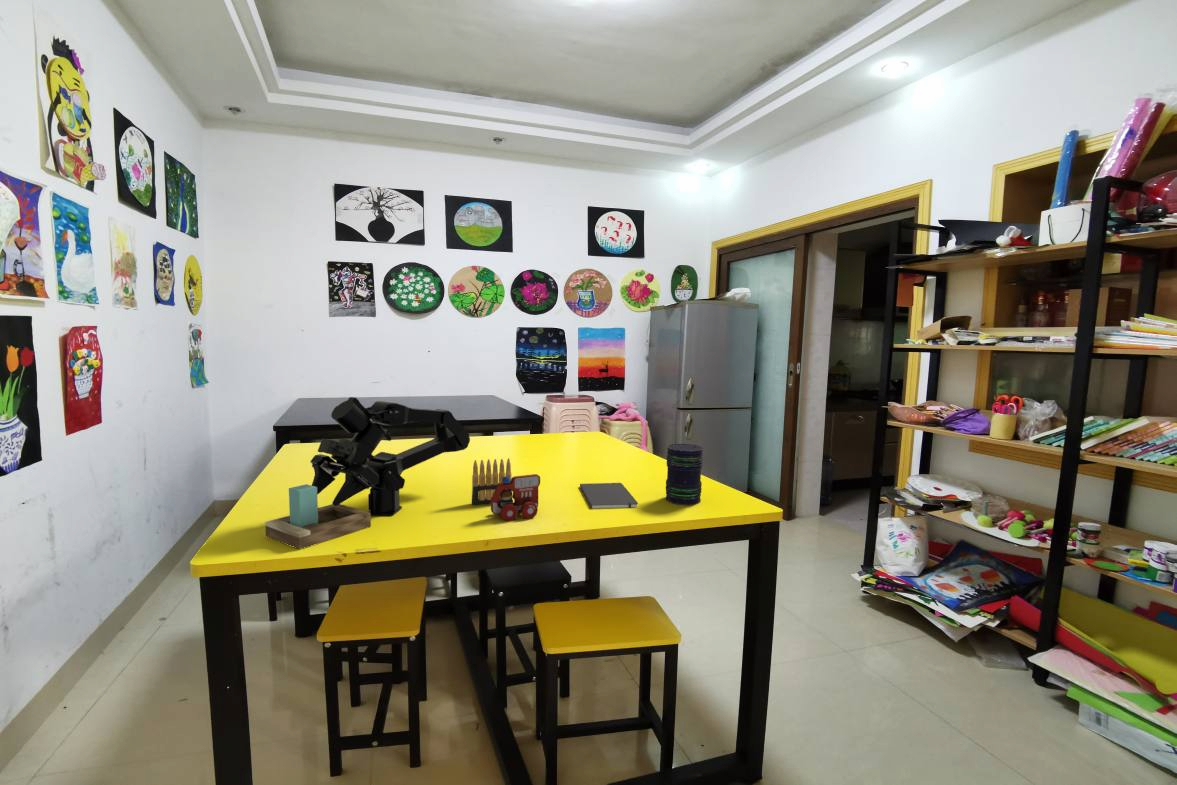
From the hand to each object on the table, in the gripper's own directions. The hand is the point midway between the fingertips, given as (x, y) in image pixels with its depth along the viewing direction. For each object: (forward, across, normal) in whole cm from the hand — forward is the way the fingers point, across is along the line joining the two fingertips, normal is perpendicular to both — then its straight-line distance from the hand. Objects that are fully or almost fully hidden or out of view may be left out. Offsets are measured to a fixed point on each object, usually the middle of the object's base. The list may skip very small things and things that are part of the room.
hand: (321, 501), depth 125 cm
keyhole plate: (+5, 0, +4) cm, 7 cm away
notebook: (-37, +39, +49) cm, 73 cm away
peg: (+8, 0, +2) cm, 8 cm away
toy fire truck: (-18, +29, +29) cm, 45 cm away
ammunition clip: (-22, +17, +32) cm, 42 cm away
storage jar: (-44, +58, +56) cm, 92 cm away
